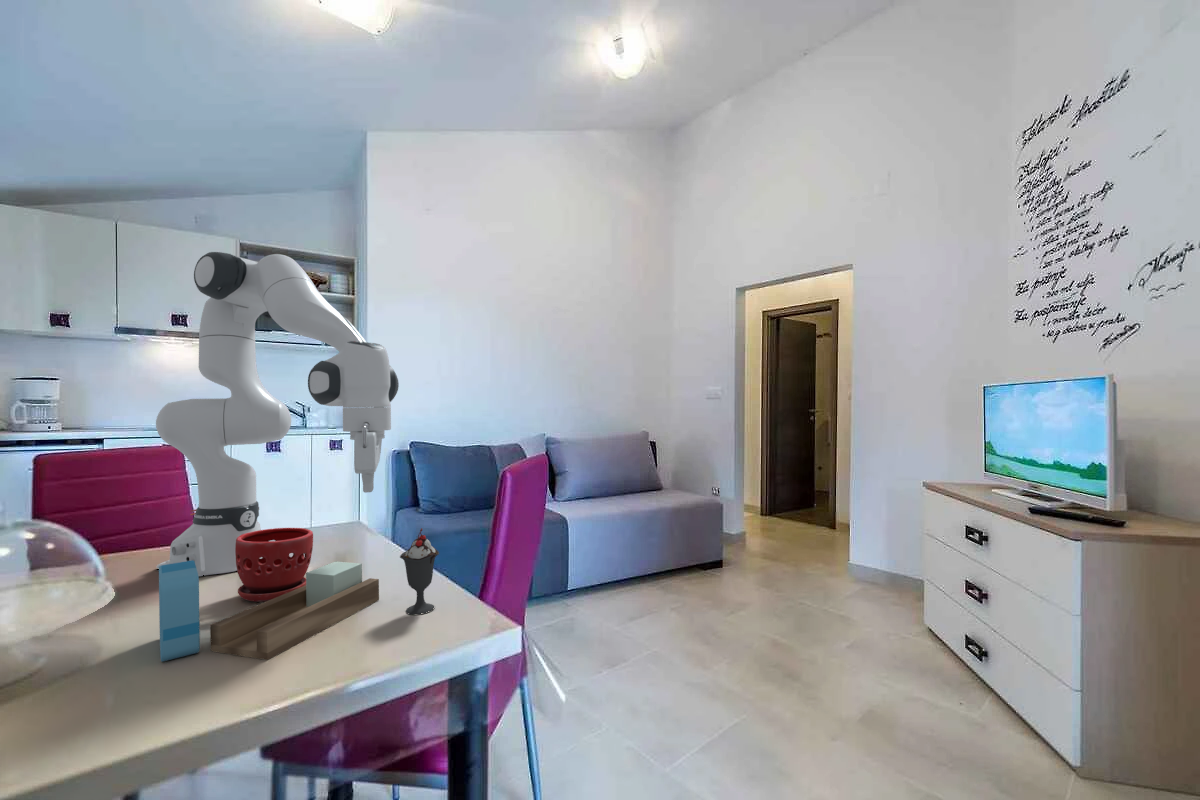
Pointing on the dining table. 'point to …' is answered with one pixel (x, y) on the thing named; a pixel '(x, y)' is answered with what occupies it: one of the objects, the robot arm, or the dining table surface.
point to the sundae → (420, 571)
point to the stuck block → (331, 580)
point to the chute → (287, 621)
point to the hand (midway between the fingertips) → (368, 491)
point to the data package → (179, 610)
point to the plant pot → (272, 562)
